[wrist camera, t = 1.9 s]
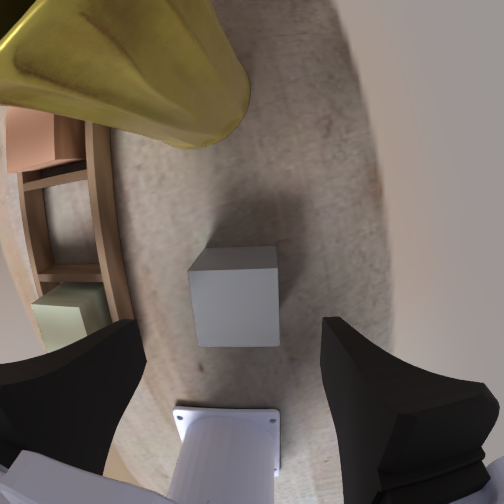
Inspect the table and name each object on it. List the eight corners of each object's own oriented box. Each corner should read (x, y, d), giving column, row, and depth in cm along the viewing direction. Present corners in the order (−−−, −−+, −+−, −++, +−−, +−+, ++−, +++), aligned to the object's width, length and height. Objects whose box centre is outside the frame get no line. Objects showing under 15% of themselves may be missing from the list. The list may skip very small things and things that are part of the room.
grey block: (277, 309, 18) (279, 346, 14) (212, 311, 19) (198, 346, 15) (276, 244, 17) (277, 268, 13) (205, 247, 17) (187, 271, 14)
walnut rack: (142, 350, 20) (120, 386, 16) (71, 343, 20) (44, 371, 16) (109, 74, 15) (73, 57, 11) (34, 100, 15) (-4, 94, 11)
